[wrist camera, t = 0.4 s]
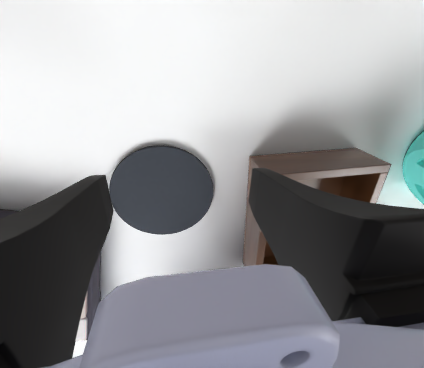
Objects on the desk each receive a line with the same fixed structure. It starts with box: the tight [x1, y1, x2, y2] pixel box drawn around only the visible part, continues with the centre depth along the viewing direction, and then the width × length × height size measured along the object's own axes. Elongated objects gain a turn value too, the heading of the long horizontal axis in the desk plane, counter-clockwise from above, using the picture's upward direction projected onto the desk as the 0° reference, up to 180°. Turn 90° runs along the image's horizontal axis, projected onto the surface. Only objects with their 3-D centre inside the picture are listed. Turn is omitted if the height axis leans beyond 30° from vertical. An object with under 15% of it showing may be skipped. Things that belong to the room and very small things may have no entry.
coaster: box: [109, 145, 213, 234], centre depth 23 cm, size 10×10×1 cm
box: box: [243, 148, 391, 266], centre depth 25 cm, size 15×12×4 cm
